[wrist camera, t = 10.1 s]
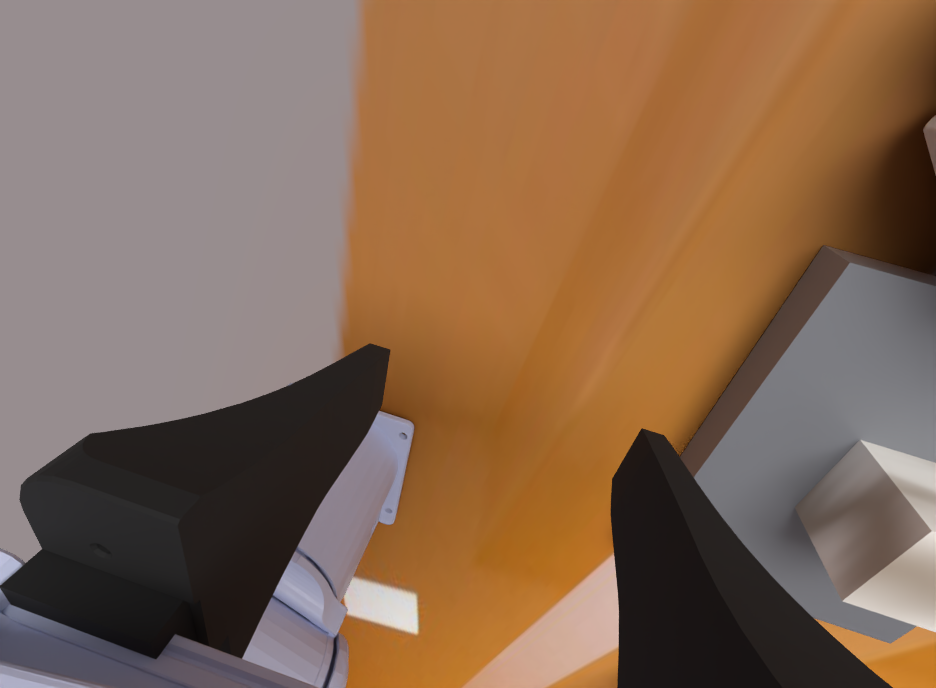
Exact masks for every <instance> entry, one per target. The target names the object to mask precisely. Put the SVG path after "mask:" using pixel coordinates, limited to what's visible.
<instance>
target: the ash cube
mask: <svg viewBox="0 0 936 688" xmlns="http://www.w3.org/2000/svg"><path fill="white" fill-rule="evenodd" d="M795 509H796V511H797V513H798V515H799V517H800V519H801V521H802V523H803V525H804V527H805V529H806V531H807V533H808V535H809V537H810V539H811V541H812V543H813V545H814V547H815V549H816V551H817V553H818V555H819V557H820V559H821V561H822V563H823V565H824V567H825V569H826V571H827V573H828V575H829V577H830V579H831V580H832V582H833V584H834V586H835V588H836V590H837V592H838V594H839V596H840V598H841V600H842V601H843V602H846V603H849V604H852V605H855V606H858V607H861V608H864V609H867V610H870V611H873V612H876V613H879V614H882V615H885V616H888V617H891V618H894V619H897V620H900V621H903V622H906V623H909V624H912V625H915V626H918V627H921V628H924V629H927V630H930V631H933V632H936V463H934V462H931V461H928V460H925V459H921V458H918V457H915V456H912V455H908V454H905V453H902V452H899V451H895V450H892V449H889V448H886V447H882V446H879V445H876V444H873V443H869V442H866V441H863V440H859V441H858V442H857V443H856V444H855V445H854V446H853V447H852V448H851V450H850V451H849V452H848V453H847V454H846V455H845V456H844V457H843V458H842V459H841V460H840V461H839V462H838V463H837V464H836V465H835V466H834V467H833V468H832V469H831V470H830V471H829V472H828V473H827V474H826V475H825V476H824V477H823V478H822V480H821V481H820V482H819V483H818V484H817V485H816V486H815V487H814V488H813V489H812V490H811V491H810V492H809V493H808V494H807V495H806V496H805V497H804V498H803V499H802V500H801V501H800V502H799V503H798V504H797V505H796V506H795Z"/></svg>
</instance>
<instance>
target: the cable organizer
mask: <svg viewBox="0 0 936 688" xmlns="http://www.w3.org/2000/svg"><path fill="white" fill-rule="evenodd" d="M923 132H924V135H925V139H926V142H927V146H928V150H929V153H930V157H931V160H932V164H933V167H934V171H935V174H936V115H935V116H934V117H933V118H932V119H931V120H930V121H929V122H928V123H927V124H926V125H925V127H924V129H923Z"/></svg>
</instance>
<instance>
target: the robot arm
mask: <svg viewBox="0 0 936 688" xmlns="http://www.w3.org/2000/svg"><path fill="white" fill-rule="evenodd" d="M389 355H390V349H386V348H383V347H380V346H377V345H374V344H368V345H366V346H364V347H362V348H360V349H359V350H357V351H355V352H353V353H351V354H350V355H348V356H346V357H344V358H342V359H341V360H339V361H337V362H335V363H333V364H331V365H329V366H327V367H326V368H324V369H322V370H320V371H318V372H316V373H314V374H312V375H310V376H308V377H306V378H304V379H302V380H299V381H297V382H295V383H291V384H289V385H288V386H286V387H284V388H282V389H279V390H277V391H274V392H272V393H269V394H266V395H263V396H261V397H258V398H255V399H252V400H249V401H246V402H244V403H241V404H237V405H233V406H230V407H226V408H223V409H219V410H216V411H212V412H209V413H206V414H201V415H197V416H193V417H188V418H184V419H179V420H174V421H169V422H164V423H160V424H154V425H148V426H142V427H135V428H128V429H121V430H114V431H108V432H101V433H92V434H89V435H88V436H86V437H85V438H83V439H82V440H80V441H79V442H78V443H76V444H75V445H73V446H72V447H71V448H69V449H68V450H66V451H65V452H64V453H62V454H61V455H59V456H58V457H57V458H55V459H54V460H52V461H51V462H49V463H48V464H47V465H46V466H44V467H42V468H41V469H40V470H38V471H37V472H35V473H34V474H33V475H31V476H30V477H28V478H27V479H26V480H25V481H24V483H23V484H22V485H21V491H20V502H21V505H22V508H23V511H24V513H25V515H26V517H27V519H28V521H29V523H30V525H31V527H32V529H33V531H34V533H35V535H36V537H37V539H38V541H39V543H40V545H41V547H42V550H41V551H39V552H38V553H37V554H36V555H35V556H34V557H33V558H31V559H30V560H29V561H28V562H27V563H26V564H25V562H24V561H23V560H21V559H20V558H19V557H17V556H16V555H14V554H12V553H10V552H8V551H6V550H3V549H1V548H0V688H346V683H347V678H348V658H349V648H348V643H347V640H346V638H345V637H344V636H343V635H342V634H340V633H339V632H338V631H339V629H340V626H341V624H342V622H343V620H344V617H345V615H346V613H347V610H348V609H347V607H345V606H344V605H343V604H342V603H341V600H342V599H343V597H344V595H345V593H346V591H347V588H348V586H349V584H350V582H351V580H352V578H353V575H354V573H355V571H356V569H357V567H358V565H359V562H360V560H361V558H362V556H363V554H364V552H365V549H366V547H367V545H368V543H369V541H370V539H371V536H372V534H373V532H374V530H375V528H376V526H377V523H378V522H381V523H384V524H387V525H391V524H393V523H394V521H395V519H396V514H397V509H398V505H399V500H400V495H401V490H402V485H403V481H404V476H405V471H406V466H407V462H408V457H409V452H410V447H411V443H412V438H413V433H414V425H413V423H412V422H411V421H409V420H406V419H403V418H400V417H397V416H394V415H391V414H388V413H385V412H382V411H379V410H380V408H381V406H382V402H383V395H384V388H385V382H386V375H387V369H388V362H389ZM402 433H405V434H406V435H404V434H402ZM611 523H612V535H613V546H614V556H615V566H616V577H617V587H618V601H619V659H618V688H893V687H891V686H890V685H889V684H888V683H886V682H885V681H884V680H883V679H881V678H880V677H879V676H878V675H876V674H875V673H874V672H873V671H872V670H871V669H869V668H868V667H867V666H866V665H865V664H864V663H862V662H861V661H860V660H859V659H858V658H857V657H856V656H855V655H853V654H852V653H851V652H850V651H849V650H848V649H847V648H845V647H844V646H843V645H842V644H841V643H840V642H839V641H838V640H836V639H835V638H834V637H833V636H832V635H831V634H830V633H829V632H828V631H827V630H826V629H825V628H823V627H822V626H821V625H820V624H819V623H818V622H817V621H816V620H815V619H814V618H813V617H812V616H811V615H810V614H809V613H808V612H807V611H806V610H805V609H804V608H803V607H802V606H801V605H800V604H799V603H798V602H797V601H796V600H795V599H794V598H793V597H792V596H791V595H790V594H789V593H788V592H787V591H786V590H785V589H784V588H783V587H782V586H781V585H780V584H779V583H778V582H777V581H776V580H775V579H774V578H773V577H772V576H771V575H770V573H769V572H768V571H767V570H766V569H765V568H764V567H763V566H762V565H761V563H760V562H759V561H758V560H757V559H756V558H755V557H754V556H753V554H752V553H751V552H750V551H749V550H748V549H747V548H746V546H745V545H744V544H743V543H742V542H741V540H740V539H739V538H738V537H737V535H736V534H735V533H734V532H733V530H732V529H731V528H730V527H729V525H728V524H727V523H726V521H725V520H724V519H723V518H722V516H721V515H720V514H719V512H718V511H717V510H716V508H715V507H714V506H713V504H712V503H711V502H710V500H709V499H708V497H707V496H706V495H705V493H704V492H703V490H702V489H701V488H700V486H699V485H698V483H697V482H696V480H695V479H694V477H693V476H692V475H691V473H690V472H689V470H688V469H687V467H686V466H685V464H684V463H683V461H682V460H681V458H680V457H679V456H678V454H677V453H676V451H675V450H674V448H673V447H672V445H671V444H670V443H669V441H668V440H667V439H666V437H665V436H664V435H661V434H658V433H655V432H652V431H649V430H645V429H641V431H640V432H639V434H638V436H637V437H636V439H635V441H634V443H633V444H632V446H631V448H630V449H629V451H628V453H627V455H626V456H625V458H624V460H623V461H622V463H621V465H620V467H619V468H618V470H617V472H616V473H615V475H614V477H613V479H612V493H611Z"/></svg>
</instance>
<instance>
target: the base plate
mask: <svg viewBox="0 0 936 688" xmlns="http://www.w3.org/2000/svg"><path fill="white" fill-rule="evenodd" d="M859 440H863V441H866V442H869V443H873V444H876V445H879V446H882V447H886V448H889V449H892V450H895V451H899V452H902V453H905V454H908V455H912V456H915V457H918V458H921V459H925V460H928V461H931V462H934V463H936V276H934V275H930V274H927V273H923V272H919V271H916V270H912V269H908V268H905V267H901V266H898V265H894V264H890V263H887V262H883V261H880V260H876V259H872V258H869V257H865V256H861V255H858V254H854V253H851V252H847V251H843V250H840V249H836V248H832V247H829V246H825V245H823V247H822V248H821V249H820V251H819V252H818V254H817V255H816V257H815V258H814V260H813V261H812V263H811V264H810V266H809V267H808V269H807V270H806V272H805V273H804V275H803V276H802V277H801V279H800V280H799V282H798V283H797V285H796V286H795V288H794V289H793V291H792V292H791V294H790V295H789V297H788V298H787V300H786V301H785V303H784V304H783V306H782V307H781V308H780V310H779V311H778V313H777V314H776V316H775V317H774V319H773V320H772V322H771V323H770V325H769V326H768V328H767V329H766V331H765V332H764V334H763V335H762V337H761V338H760V339H759V341H758V342H757V344H756V345H755V347H754V348H753V350H752V351H751V353H750V354H749V356H748V357H747V359H746V360H745V362H744V363H743V365H742V366H741V367H740V369H739V370H738V372H737V373H736V375H735V376H734V378H733V379H732V381H731V382H730V384H729V385H728V387H727V388H726V390H725V391H724V393H723V394H722V396H721V397H720V398H719V400H718V401H717V403H716V404H715V406H714V407H713V409H712V410H711V412H710V413H709V415H708V416H707V418H706V419H705V421H704V422H703V424H702V425H701V427H700V428H699V429H698V431H697V432H696V434H695V435H694V437H693V438H692V440H691V441H690V443H689V444H688V446H687V447H686V449H685V450H684V452H683V453H682V455H681V456H680V458H681V460H682V461H683V463H684V464H685V466H686V467H687V469H688V470H689V472H690V473H691V475H692V476H693V477H694V479H695V480H696V482H697V483H698V485H699V486H700V488H701V489H702V490H703V492H704V493H705V495H706V496H707V497H708V499H709V500H710V502H711V503H712V504H713V506H714V507H715V508H716V510H717V511H718V512H719V514H720V515H721V516H722V518H723V519H724V520H725V521H726V523H727V524H728V525H729V527H730V528H731V529H732V530H733V532H734V533H735V534H736V535H737V537H738V538H739V539H740V540H741V542H742V543H743V544H744V545H745V546H746V548H747V549H748V550H749V551H750V552H751V553H752V554H753V556H754V557H755V558H756V559H757V560H758V561H759V562H760V563H761V565H762V566H763V567H764V568H765V569H766V570H767V571H768V572H769V573H770V575H771V576H772V577H773V578H774V579H775V580H776V581H777V582H778V583H779V584H780V585H781V586H782V587H783V588H784V589H785V590H786V591H787V592H788V593H789V594H790V595H791V596H792V597H793V598H794V599H795V600H796V601H797V602H798V603H799V604H800V605H801V606H802V607H803V608H804V609H805V610H806V611H807V612H808V613H809V614H810V615H811V616H812V617H813V618H815V619H818V620H821V621H824V622H827V623H830V624H833V625H836V626H839V627H842V628H845V629H848V630H851V631H854V632H857V633H860V634H863V635H866V636H869V637H872V638H875V639H878V640H881V641H884V642H887V643H892V642H894V641H895V640H897V639H898V638H900V637H901V636H903V635H904V634H906V633H907V632H909V631H910V630H912V629H913V628H915V627H917V626H915V625H912V624H909V623H906V622H903V621H900V620H897V619H894V618H891V617H888V616H885V615H882V614H879V613H876V612H873V611H870V610H867V609H864V608H861V607H858V606H855V605H852V604H849V603H846V602H843V601H842V600H841V598H840V596H839V594H838V592H837V590H836V588H835V586H834V584H833V582H832V580H831V579H830V577H829V575H828V573H827V571H826V569H825V567H824V565H823V563H822V561H821V559H820V557H819V555H818V553H817V551H816V549H815V547H814V545H813V543H812V541H811V539H810V537H809V535H808V533H807V531H806V529H805V527H804V525H803V523H802V521H801V519H800V517H799V515H798V513H797V511H796V509H795V506H796V505H797V504H798V503H799V502H800V501H801V500H802V499H803V498H804V497H805V496H806V495H807V494H808V493H809V492H810V491H811V490H812V489H813V488H814V487H815V486H816V485H817V484H818V483H819V482H820V481H821V480H822V478H823V477H824V476H825V475H826V474H827V473H828V472H829V471H830V470H831V469H832V468H833V467H834V466H835V465H836V464H837V463H838V462H839V461H840V460H841V459H842V458H843V457H844V456H845V455H846V454H847V453H848V452H849V451H850V450H851V448H852V447H853V446H854V445H855V444H856V443H857V442H858V441H859Z"/></svg>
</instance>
